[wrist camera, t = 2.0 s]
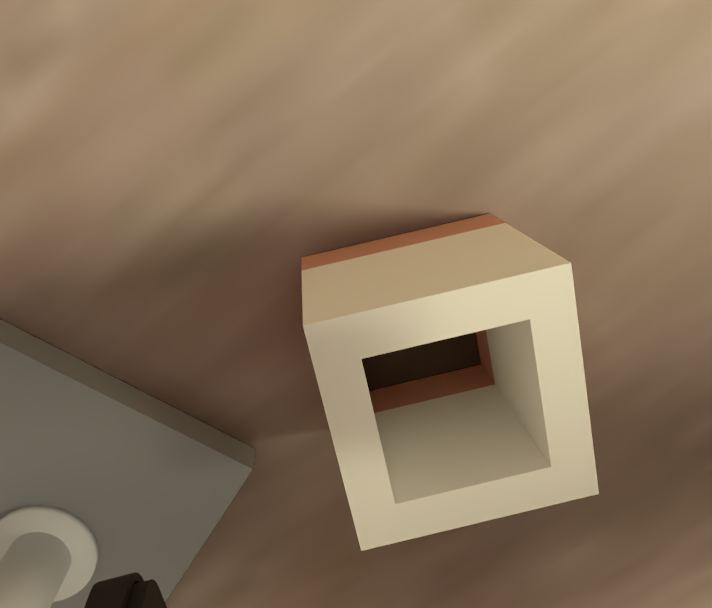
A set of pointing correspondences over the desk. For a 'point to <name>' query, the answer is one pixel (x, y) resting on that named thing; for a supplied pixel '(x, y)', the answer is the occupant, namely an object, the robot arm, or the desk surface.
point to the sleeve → (451, 378)
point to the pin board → (99, 479)
